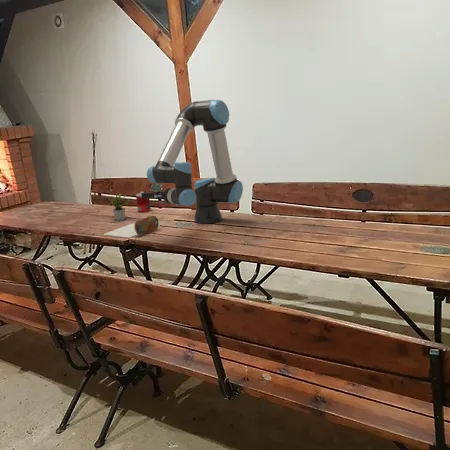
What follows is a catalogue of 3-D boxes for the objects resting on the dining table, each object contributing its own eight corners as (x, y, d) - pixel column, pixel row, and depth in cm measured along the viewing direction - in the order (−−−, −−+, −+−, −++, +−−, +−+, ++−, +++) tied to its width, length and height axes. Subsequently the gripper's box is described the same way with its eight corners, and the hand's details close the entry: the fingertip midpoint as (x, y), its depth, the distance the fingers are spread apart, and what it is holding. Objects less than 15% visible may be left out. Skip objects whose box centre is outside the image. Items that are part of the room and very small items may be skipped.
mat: (157, 226, 248) (157, 226, 248) (129, 238, 230) (128, 237, 230) (132, 224, 258) (132, 223, 258) (103, 235, 241) (102, 234, 241)
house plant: (115, 224, 261) (111, 196, 257) (102, 221, 271) (98, 194, 266) (135, 218, 271) (132, 191, 267) (122, 215, 280) (118, 189, 276)
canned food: (150, 211, 285) (148, 194, 282) (137, 213, 284) (135, 195, 281) (151, 209, 292) (149, 192, 289) (138, 210, 292) (136, 193, 289)
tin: (138, 237, 231) (136, 221, 229) (134, 236, 233) (132, 220, 231) (159, 229, 243) (157, 214, 240) (155, 228, 245) (153, 213, 242)
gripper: (149, 205, 207) (130, 202, 224) (196, 202, 221) (175, 199, 238) (148, 189, 206) (130, 187, 223) (196, 186, 220) (175, 185, 237)
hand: (153, 193), depth 231 cm, fingers open, 13 cm apart
